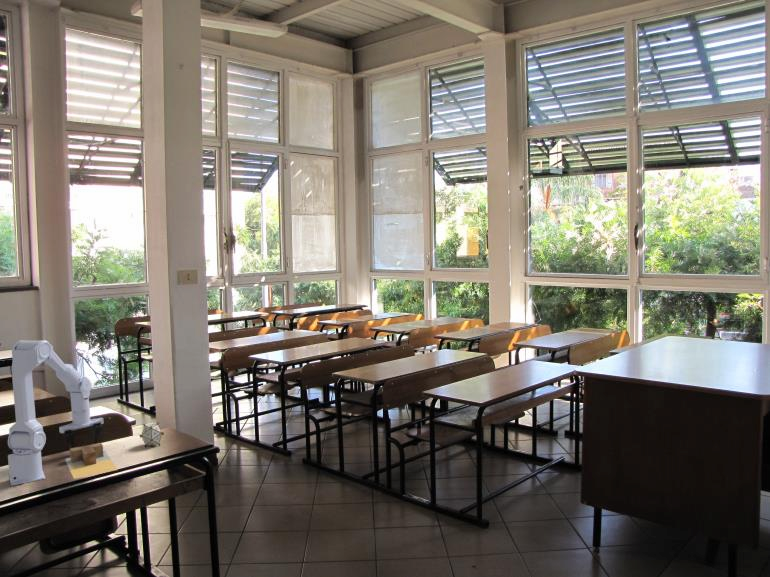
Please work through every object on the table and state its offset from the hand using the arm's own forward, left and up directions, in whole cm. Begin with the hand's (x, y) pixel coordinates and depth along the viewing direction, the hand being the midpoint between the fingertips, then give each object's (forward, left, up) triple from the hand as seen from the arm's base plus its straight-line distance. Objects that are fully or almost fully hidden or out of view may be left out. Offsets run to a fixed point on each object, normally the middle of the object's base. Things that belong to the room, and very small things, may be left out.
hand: (83, 448), depth 232 cm
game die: (+22, -7, -2) cm, 23 cm away
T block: (0, -11, -2) cm, 11 cm away
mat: (0, -15, -2) cm, 15 cm away
